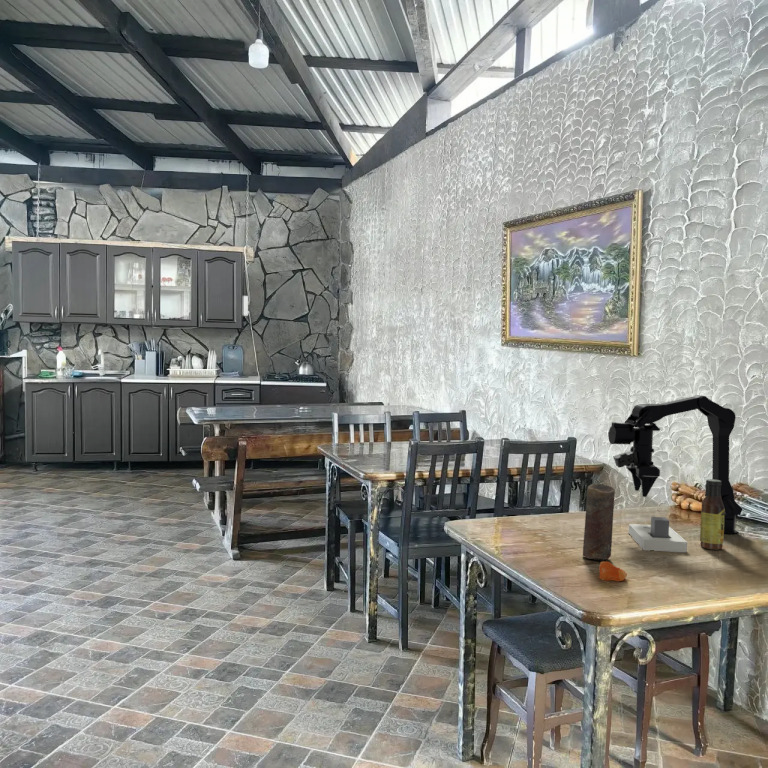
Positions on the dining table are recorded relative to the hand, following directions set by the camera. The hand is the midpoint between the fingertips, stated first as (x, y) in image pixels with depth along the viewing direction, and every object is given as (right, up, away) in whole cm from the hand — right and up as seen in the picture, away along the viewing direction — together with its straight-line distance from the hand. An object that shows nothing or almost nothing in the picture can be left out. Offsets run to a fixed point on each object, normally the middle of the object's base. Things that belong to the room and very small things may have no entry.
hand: (640, 493), depth 222 cm
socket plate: (0, -13, -12) cm, 18 cm away
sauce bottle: (+15, -14, -16) cm, 26 cm away
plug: (0, -13, -15) cm, 20 cm away
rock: (-24, -15, -46) cm, 54 cm away
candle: (-23, -13, -30) cm, 40 cm away
